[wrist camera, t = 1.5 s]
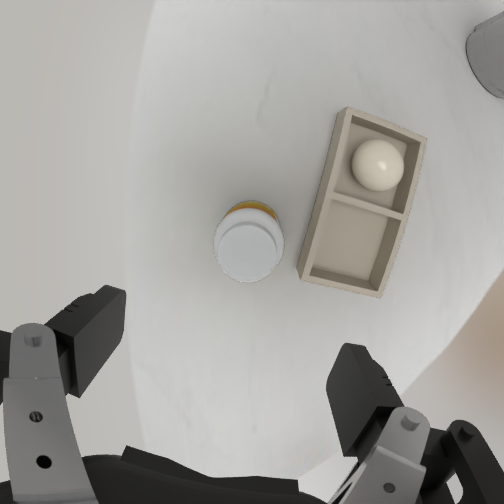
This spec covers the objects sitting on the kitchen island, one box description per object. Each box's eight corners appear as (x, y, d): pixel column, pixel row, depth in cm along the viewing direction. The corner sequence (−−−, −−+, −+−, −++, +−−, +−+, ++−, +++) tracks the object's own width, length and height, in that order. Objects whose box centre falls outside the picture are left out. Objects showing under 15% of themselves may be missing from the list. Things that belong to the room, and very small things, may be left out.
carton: (337, 113, 27) (347, 106, 23) (410, 141, 27) (427, 138, 23) (296, 268, 31) (300, 280, 27) (369, 285, 31) (380, 298, 27)
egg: (352, 134, 26) (368, 127, 22) (395, 150, 27) (418, 147, 22) (340, 181, 28) (355, 184, 23) (384, 196, 28) (405, 201, 23)
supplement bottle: (213, 215, 29) (191, 236, 20) (264, 190, 29) (266, 199, 19) (238, 264, 31) (228, 305, 21) (288, 241, 30) (300, 273, 21)
